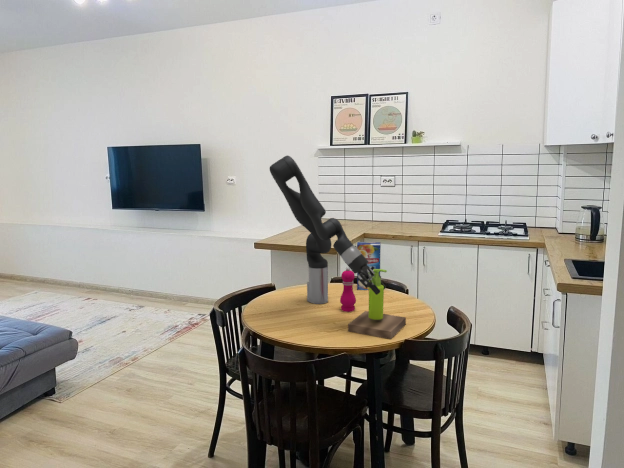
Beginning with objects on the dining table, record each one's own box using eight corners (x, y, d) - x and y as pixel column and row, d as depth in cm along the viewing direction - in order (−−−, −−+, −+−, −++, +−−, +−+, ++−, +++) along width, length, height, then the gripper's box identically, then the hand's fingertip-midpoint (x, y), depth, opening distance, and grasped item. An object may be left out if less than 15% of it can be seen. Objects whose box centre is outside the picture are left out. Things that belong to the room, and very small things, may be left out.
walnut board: (347, 331, 187) (347, 324, 186) (365, 317, 202) (365, 310, 202) (390, 339, 178) (391, 331, 178) (405, 324, 194) (405, 317, 193)
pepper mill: (358, 308, 214) (358, 266, 211) (352, 313, 208) (352, 269, 205) (343, 306, 217) (343, 264, 214) (337, 311, 211) (337, 268, 208)
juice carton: (356, 289, 244) (357, 244, 240) (357, 285, 251) (357, 242, 247) (380, 290, 243) (380, 245, 239) (379, 286, 250) (380, 242, 246)
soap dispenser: (385, 320, 186) (386, 271, 183) (367, 319, 188) (368, 270, 184) (386, 315, 192) (387, 268, 189) (369, 314, 193) (369, 267, 190)
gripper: (355, 261, 198) (381, 292, 195) (341, 268, 186) (368, 301, 182) (367, 250, 195) (394, 281, 191) (353, 257, 183) (381, 290, 179)
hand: (381, 291), depth 187 cm, fingers closed on soap dispenser, 6 cm apart
